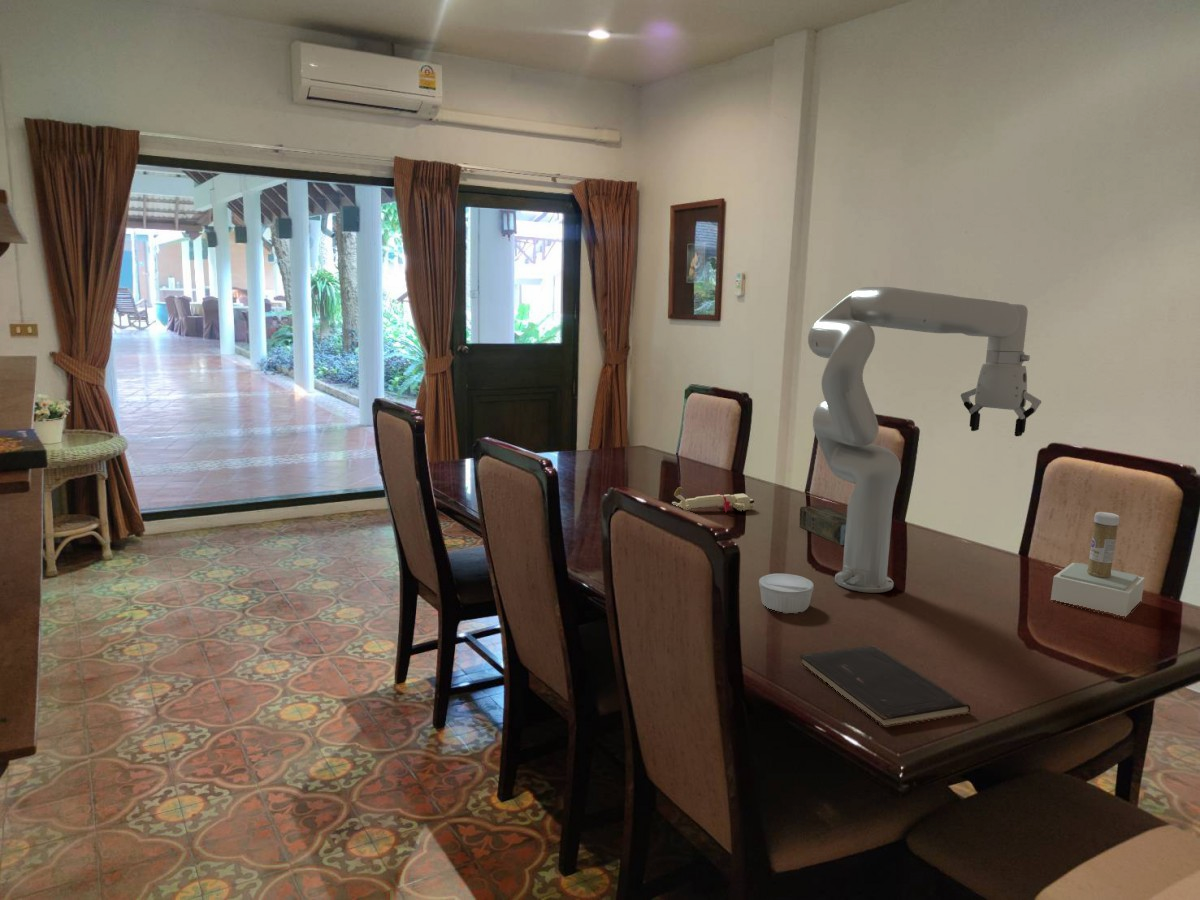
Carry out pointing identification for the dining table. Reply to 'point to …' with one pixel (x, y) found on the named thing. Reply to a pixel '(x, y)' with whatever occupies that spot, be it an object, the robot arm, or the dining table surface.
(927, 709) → the hardcover book
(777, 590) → the ramekin
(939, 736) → the dining table surface
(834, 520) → the beverage carton
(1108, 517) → the sprinkles bottle
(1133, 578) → the white rimmed tray
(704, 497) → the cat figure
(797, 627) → the dining table surface
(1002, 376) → the robot arm
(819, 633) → the dining table surface
